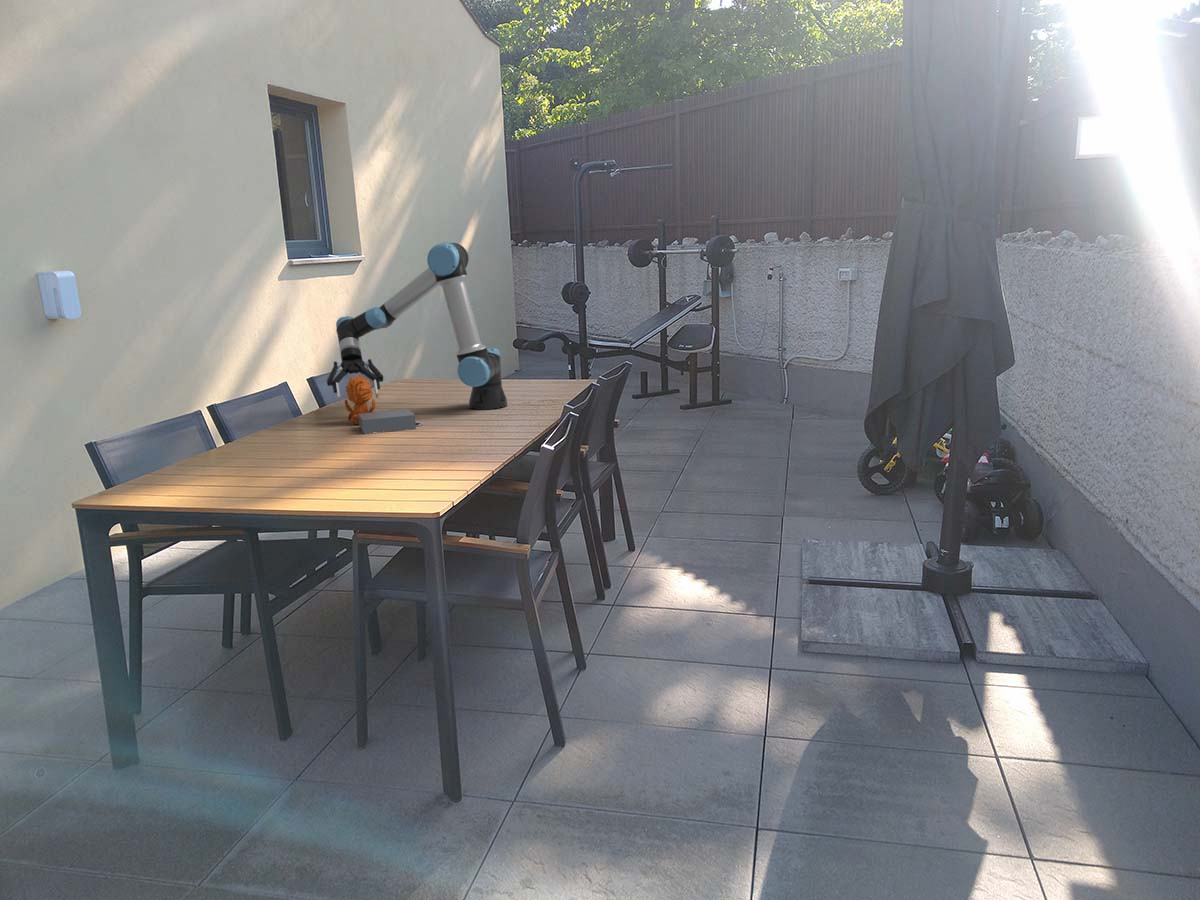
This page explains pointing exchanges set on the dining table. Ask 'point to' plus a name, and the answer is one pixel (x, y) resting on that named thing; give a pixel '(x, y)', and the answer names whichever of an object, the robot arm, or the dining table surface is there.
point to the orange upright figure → (358, 397)
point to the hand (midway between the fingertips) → (358, 397)
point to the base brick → (386, 421)
